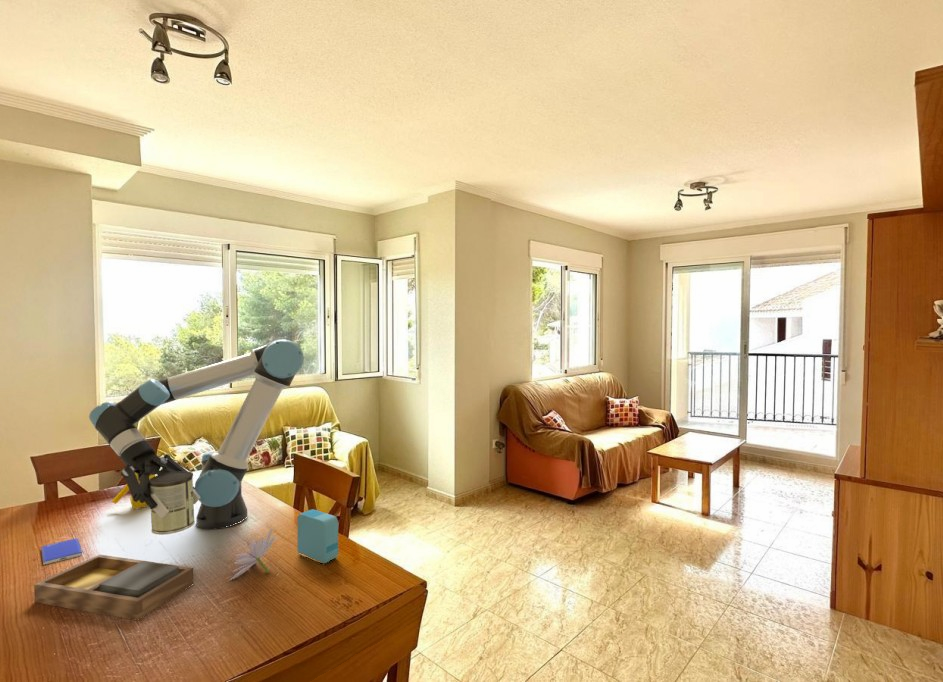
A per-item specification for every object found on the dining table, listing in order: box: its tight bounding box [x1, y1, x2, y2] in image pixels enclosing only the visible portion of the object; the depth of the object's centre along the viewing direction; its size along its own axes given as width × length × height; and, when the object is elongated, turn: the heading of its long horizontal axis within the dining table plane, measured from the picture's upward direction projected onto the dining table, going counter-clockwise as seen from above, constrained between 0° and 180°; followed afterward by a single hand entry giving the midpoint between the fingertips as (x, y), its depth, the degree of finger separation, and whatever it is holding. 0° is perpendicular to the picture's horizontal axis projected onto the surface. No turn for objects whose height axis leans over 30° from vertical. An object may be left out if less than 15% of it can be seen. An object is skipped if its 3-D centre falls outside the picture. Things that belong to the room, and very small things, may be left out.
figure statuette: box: [111, 472, 156, 510], centre depth 173 cm, size 18×8×22 cm, turn 137°
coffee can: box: [149, 470, 196, 536], centre depth 133 cm, size 10×10×14 cm
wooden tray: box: [33, 554, 195, 621], centre depth 116 cm, size 30×16×5 cm, turn 76°
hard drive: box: [41, 537, 83, 566], centre depth 137 cm, size 2×8×12 cm
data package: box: [296, 508, 339, 564], centre depth 135 cm, size 12×4×12 cm, turn 57°
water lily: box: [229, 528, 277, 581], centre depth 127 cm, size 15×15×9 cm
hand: (181, 507), depth 133 cm, fingers closed on coffee can, 10 cm apart
